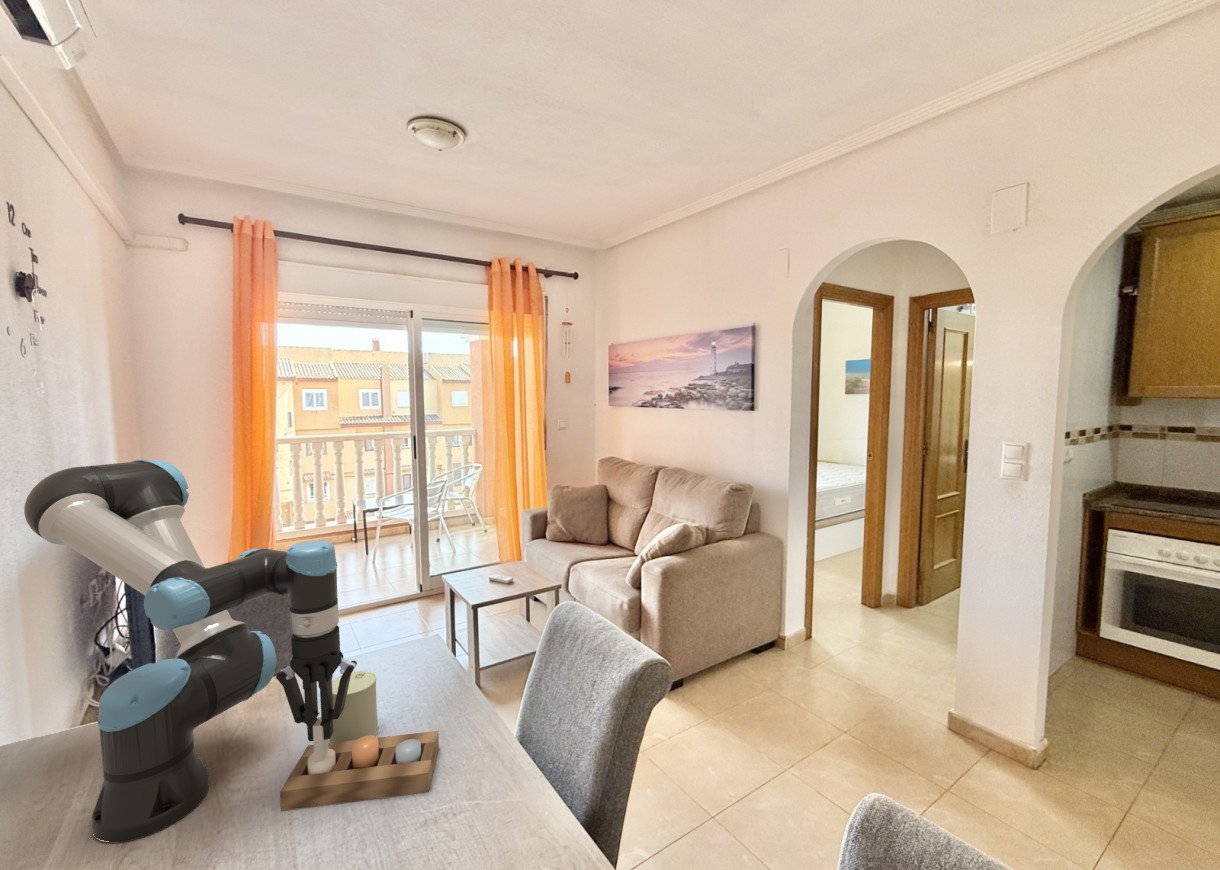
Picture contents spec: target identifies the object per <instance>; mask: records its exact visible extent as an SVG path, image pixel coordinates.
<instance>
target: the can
mask: <svg viewBox="0 0 1220 870" xmlns="http://www.w3.org/2000/svg"><path fill="white" fill-rule="evenodd" d="M342 675H343V674H340V676H337V677H336V678H334V679H332V694H333V709H334V705H335V701H336V696H337V692H338V687H339V682H340V679H341V676H342ZM377 703H378V702H377V676H376V674H375V673H374V672H372V671H367V670H359V671H358V670H356V671H353V672H352V673H351V677H350V682H349V687H348V691H347V696H346V701H345V705H344V709H343V711H342V713H341V715H340V716H339V718H338V719H333V734H332V736H331V738H330V739H328V743H334V742H343V741H352V740H357V739H359V738H361V737H364V736H368V735H373V736H376V737H377V735H378V733H379V725H378V708H377V707H378V706H377Z"/></svg>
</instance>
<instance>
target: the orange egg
mask: <svg viewBox="0 0 1220 870" xmlns="http://www.w3.org/2000/svg"><path fill="white" fill-rule="evenodd" d="M378 762H379V749H378V736H377V735H376V736H373V735H368V736H364V737H361V738H359V739H357V740H356V741H355V742H354V743H353V744H352V764H353V769H360V768H368V767H377V765H378Z"/></svg>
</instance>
